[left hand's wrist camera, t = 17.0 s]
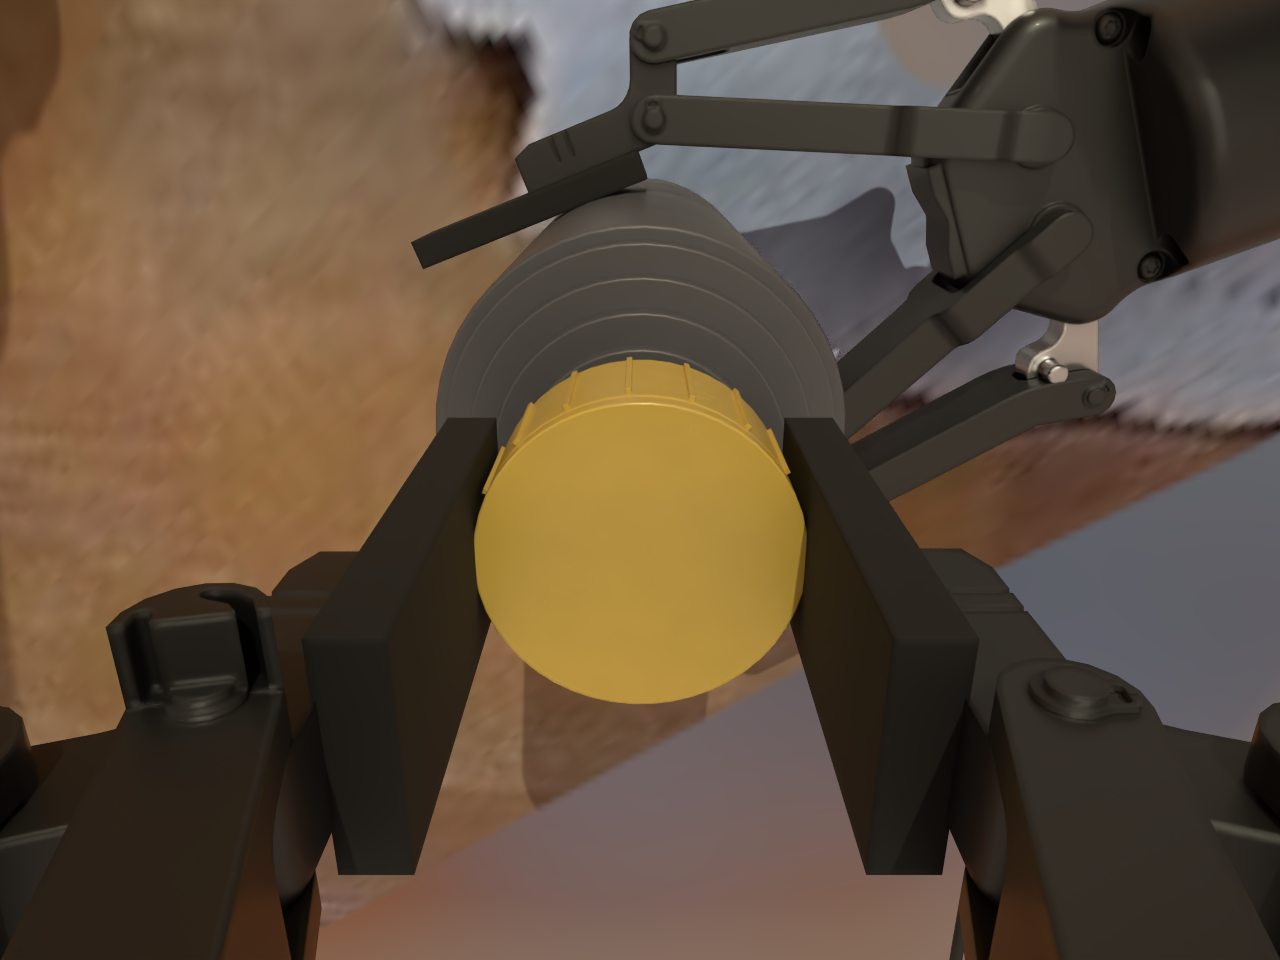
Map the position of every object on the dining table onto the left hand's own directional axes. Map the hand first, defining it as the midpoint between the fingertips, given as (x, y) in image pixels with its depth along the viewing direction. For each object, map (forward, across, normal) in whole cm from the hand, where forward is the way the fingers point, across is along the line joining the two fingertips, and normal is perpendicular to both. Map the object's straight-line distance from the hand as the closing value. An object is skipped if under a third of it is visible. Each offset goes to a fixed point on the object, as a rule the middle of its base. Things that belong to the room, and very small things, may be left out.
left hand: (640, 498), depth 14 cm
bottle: (+19, 0, 0) cm, 19 cm away
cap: (-2, 0, 0) cm, 2 cm away
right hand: (+13, -4, -2) cm, 14 cm away
